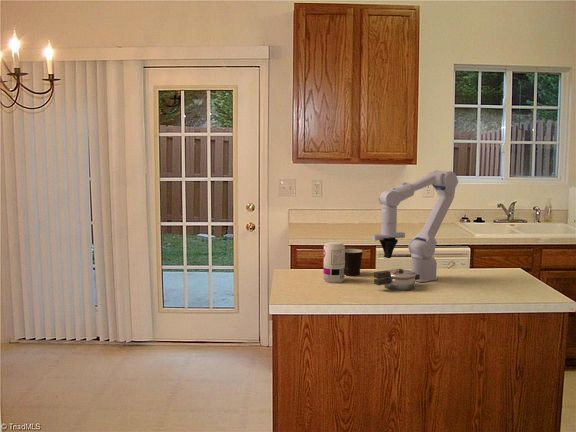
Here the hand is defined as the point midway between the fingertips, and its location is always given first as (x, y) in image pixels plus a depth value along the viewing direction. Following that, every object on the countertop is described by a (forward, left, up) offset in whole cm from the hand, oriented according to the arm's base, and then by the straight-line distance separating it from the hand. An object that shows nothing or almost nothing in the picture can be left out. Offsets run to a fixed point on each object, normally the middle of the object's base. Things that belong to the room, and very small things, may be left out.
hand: (388, 257), depth 202 cm
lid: (+3, +7, -5) cm, 9 cm away
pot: (+1, +7, -10) cm, 12 cm away
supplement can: (+16, -13, -10) cm, 23 cm away
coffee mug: (+3, -19, -10) cm, 22 cm away
